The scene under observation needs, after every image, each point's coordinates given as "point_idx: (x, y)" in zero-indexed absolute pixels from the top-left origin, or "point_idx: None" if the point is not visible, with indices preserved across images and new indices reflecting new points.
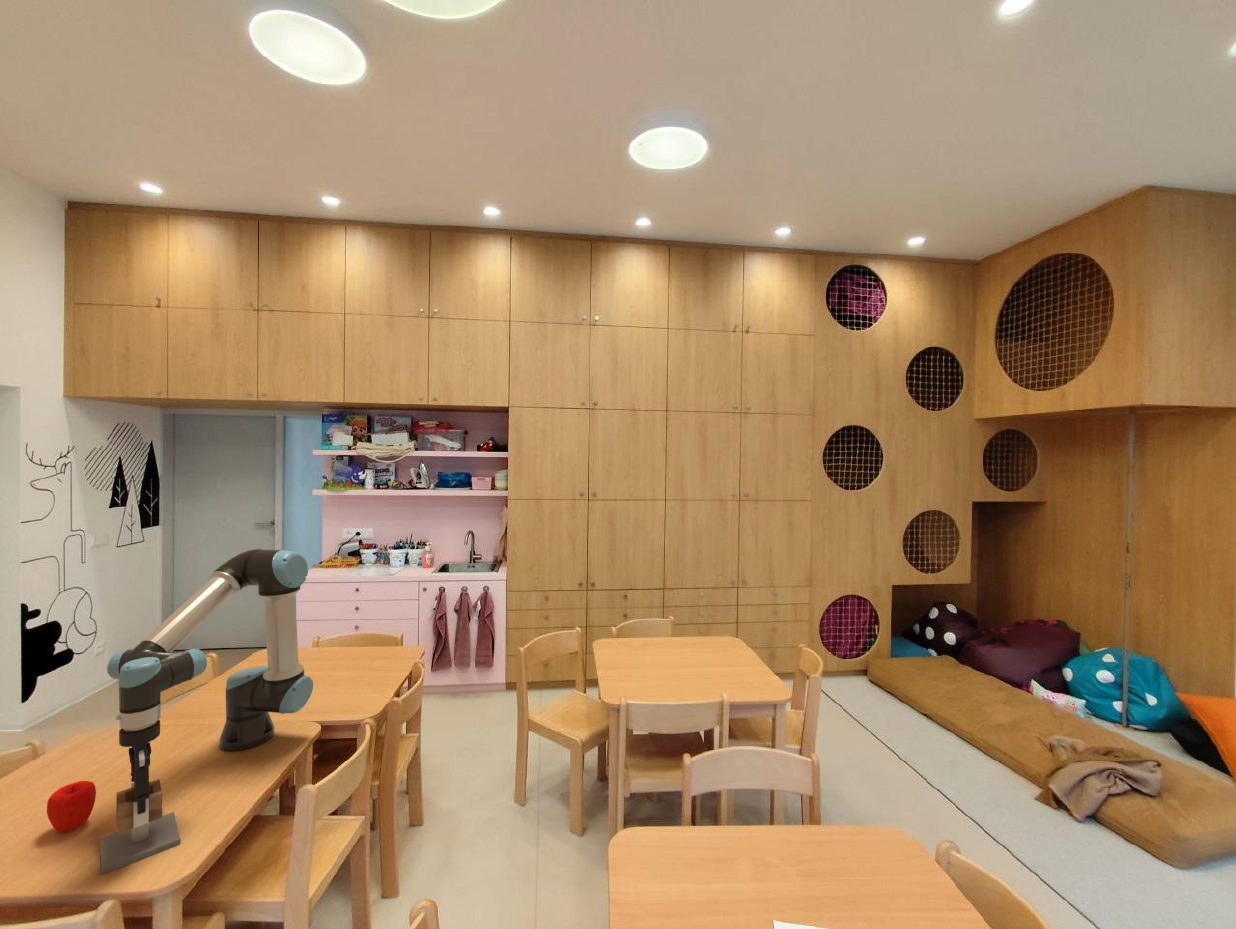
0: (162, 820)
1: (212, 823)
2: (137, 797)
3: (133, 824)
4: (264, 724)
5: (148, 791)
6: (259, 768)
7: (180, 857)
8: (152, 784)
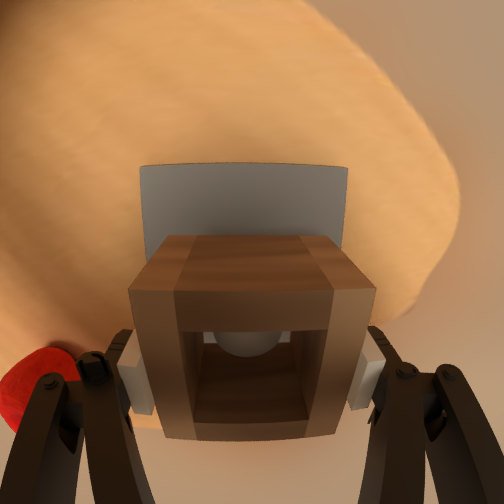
0: (174, 201)
1: (295, 71)
2: (445, 417)
3: None
4: None
5: (472, 392)
6: None
7: (405, 180)
8: (185, 330)
